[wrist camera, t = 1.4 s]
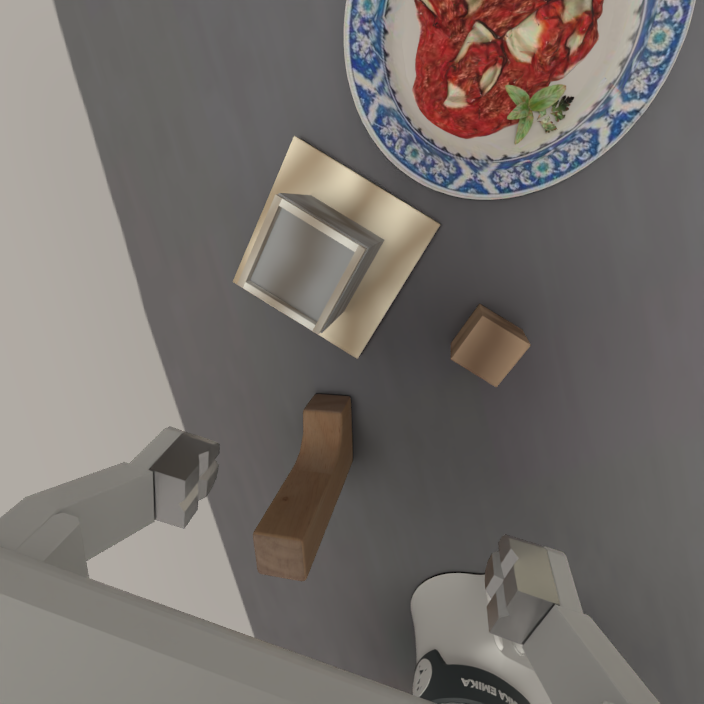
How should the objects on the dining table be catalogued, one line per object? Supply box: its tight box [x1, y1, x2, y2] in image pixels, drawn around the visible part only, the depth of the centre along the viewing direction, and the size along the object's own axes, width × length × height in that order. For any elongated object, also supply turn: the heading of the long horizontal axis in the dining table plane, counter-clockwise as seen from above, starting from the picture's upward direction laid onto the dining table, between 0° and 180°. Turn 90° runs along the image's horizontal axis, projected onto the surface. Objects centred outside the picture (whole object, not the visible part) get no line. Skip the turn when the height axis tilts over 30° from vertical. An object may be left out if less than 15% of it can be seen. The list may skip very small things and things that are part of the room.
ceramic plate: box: [344, 0, 696, 200], centre depth 33 cm, size 26×26×3 cm
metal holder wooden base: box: [233, 136, 440, 359], centre depth 38 cm, size 16×16×10 cm
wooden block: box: [253, 394, 353, 581], centre depth 42 cm, size 9×4×18 cm, turn 2°
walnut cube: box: [451, 304, 531, 387], centre depth 40 cm, size 5×5×5 cm
